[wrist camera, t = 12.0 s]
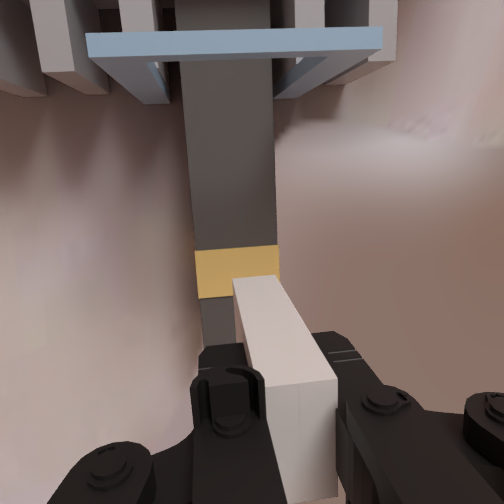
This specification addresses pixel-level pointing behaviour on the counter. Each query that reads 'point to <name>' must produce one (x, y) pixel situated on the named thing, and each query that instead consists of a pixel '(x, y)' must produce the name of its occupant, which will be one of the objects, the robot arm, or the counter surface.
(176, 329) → the counter surface
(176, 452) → the robot arm
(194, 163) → the grey banded bar
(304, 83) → the blue bezel
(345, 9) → the grey slotted rack
